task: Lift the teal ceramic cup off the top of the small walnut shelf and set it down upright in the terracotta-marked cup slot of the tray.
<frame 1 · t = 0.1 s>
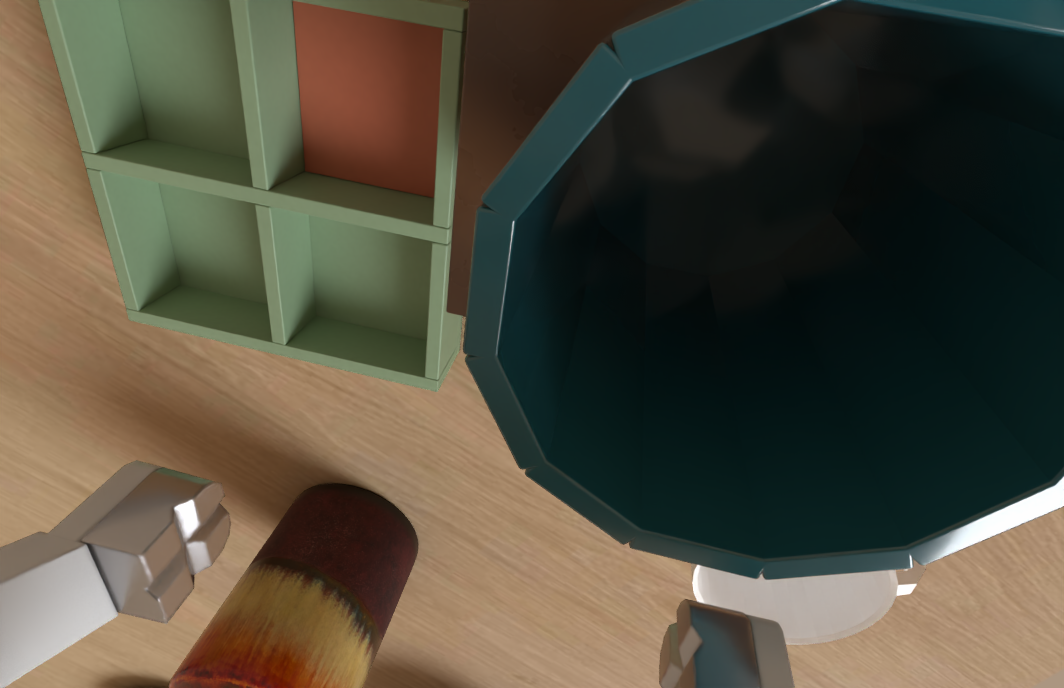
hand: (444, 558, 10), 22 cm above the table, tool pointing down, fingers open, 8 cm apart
shelf: (683, 72, 25), on the table
cup: (712, 146, 13), point 14 cm above the table, touching shelf
mug: (781, 460, 35), on the table
tray: (307, 173, 30), on the table
vase: (356, 528, 46), on the table
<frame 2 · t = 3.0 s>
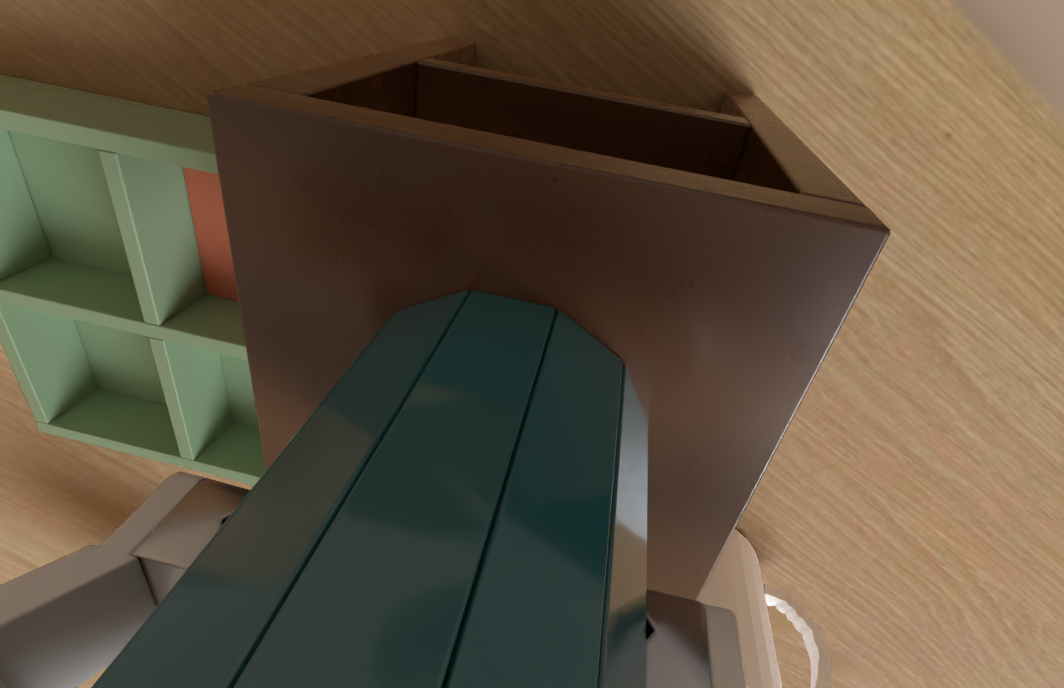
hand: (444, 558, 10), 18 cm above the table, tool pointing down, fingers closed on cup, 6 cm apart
shelf: (569, 217, 25), on the table
cup: (495, 423, 13), point 14 cm above the table, touching gripper, shelf
mug: (702, 564, 35), on the table
tray: (212, 291, 30), on the table
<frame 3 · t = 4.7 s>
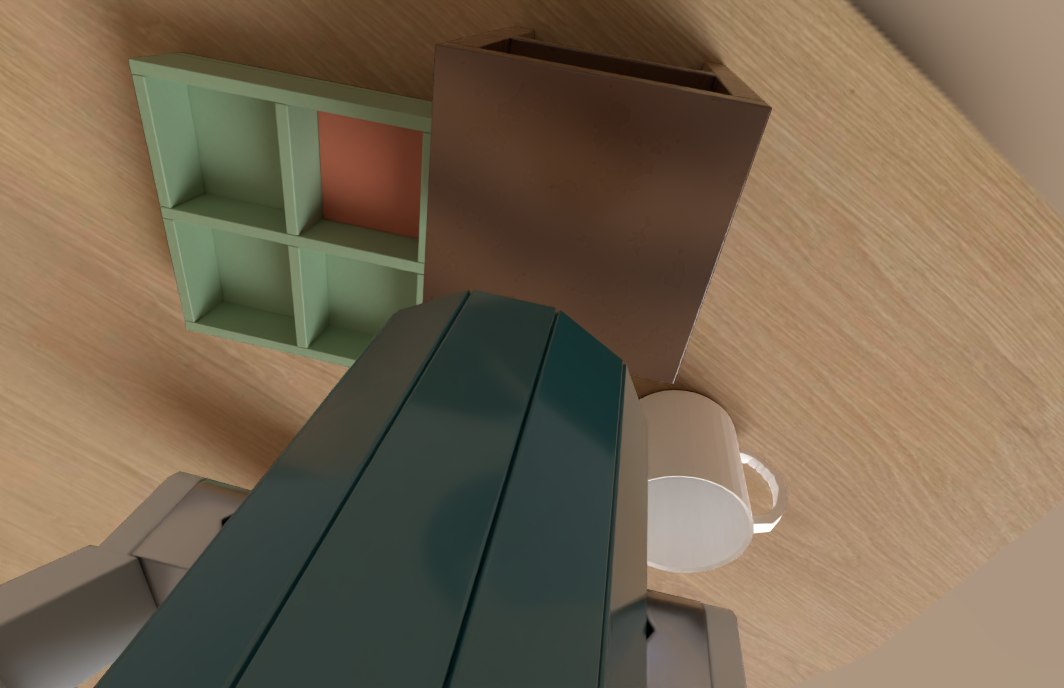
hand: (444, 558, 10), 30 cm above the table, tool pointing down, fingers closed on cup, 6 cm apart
shelf: (596, 154, 35), on the table
cup: (496, 423, 13), point 26 cm above the table, touching gripper
mug: (692, 438, 45), on the table
tray: (324, 218, 40), on the table
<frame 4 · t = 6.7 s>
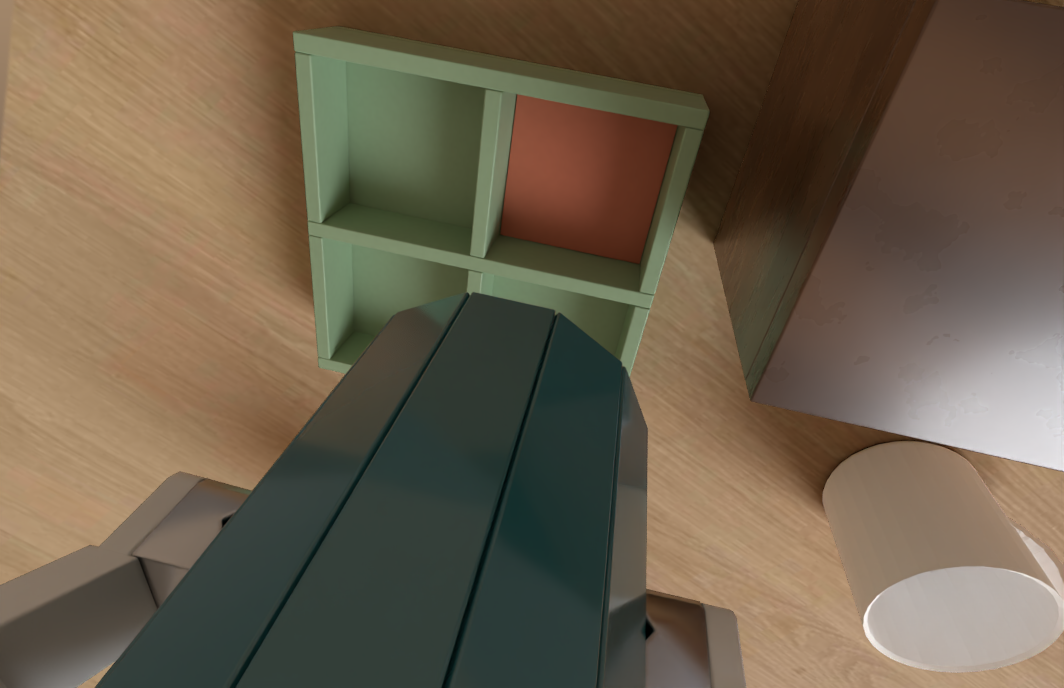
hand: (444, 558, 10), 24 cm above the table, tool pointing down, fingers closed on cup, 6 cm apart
shelf: (878, 155, 27), on the table
cup: (495, 425, 13), point 21 cm above the table, touching gripper
mug: (916, 495, 37), on the table
tray: (495, 234, 33), on the table
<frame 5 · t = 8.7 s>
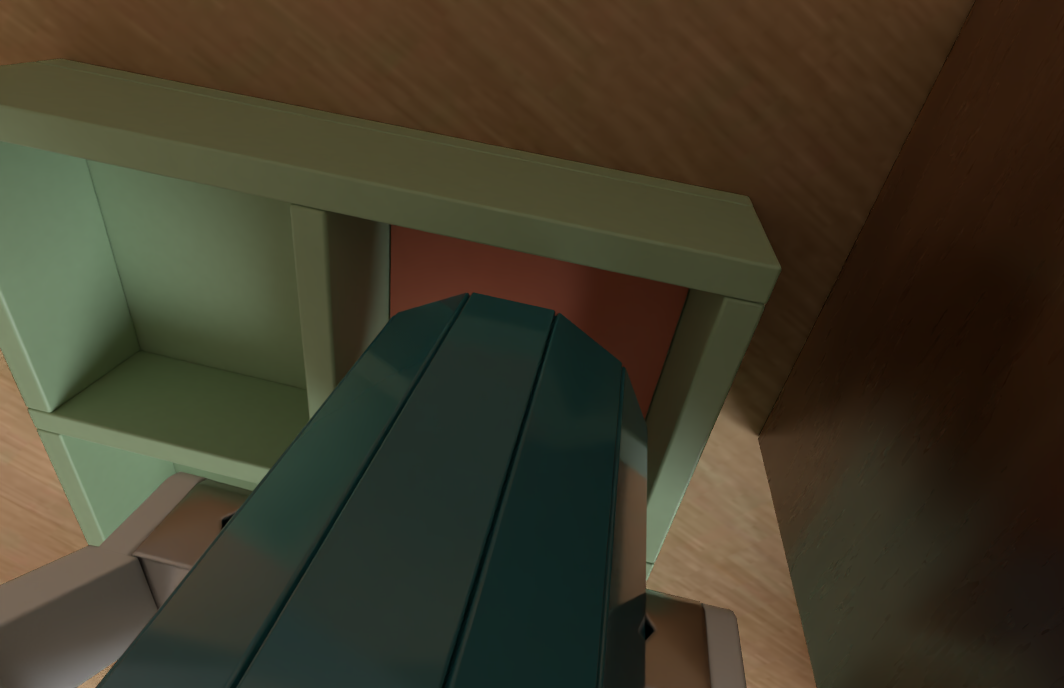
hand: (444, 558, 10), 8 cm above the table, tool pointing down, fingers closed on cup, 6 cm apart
cup: (495, 425, 13), point 5 cm above the table, touching gripper
tray: (387, 400, 19), on the table
when the fingers open (5 cm above the table, at t = 10.4 s): cup stays where it is, resting on tray.
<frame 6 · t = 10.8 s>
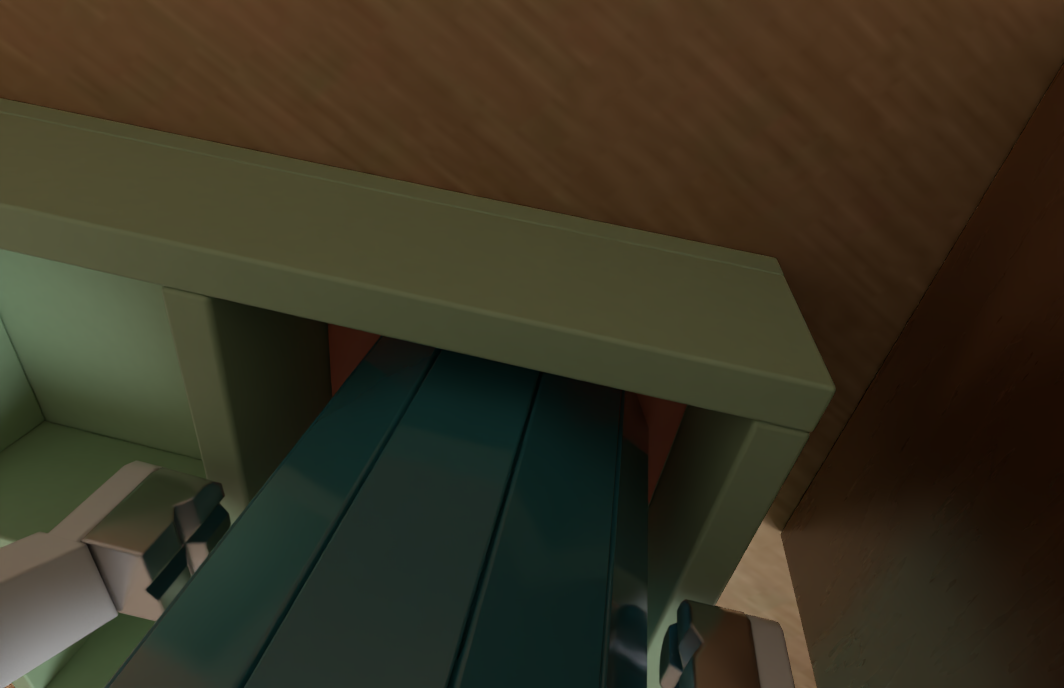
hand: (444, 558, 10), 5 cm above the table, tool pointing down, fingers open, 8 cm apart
cup: (497, 425, 13), point 1 cm above the table, touching tray
tray: (339, 478, 16), on the table
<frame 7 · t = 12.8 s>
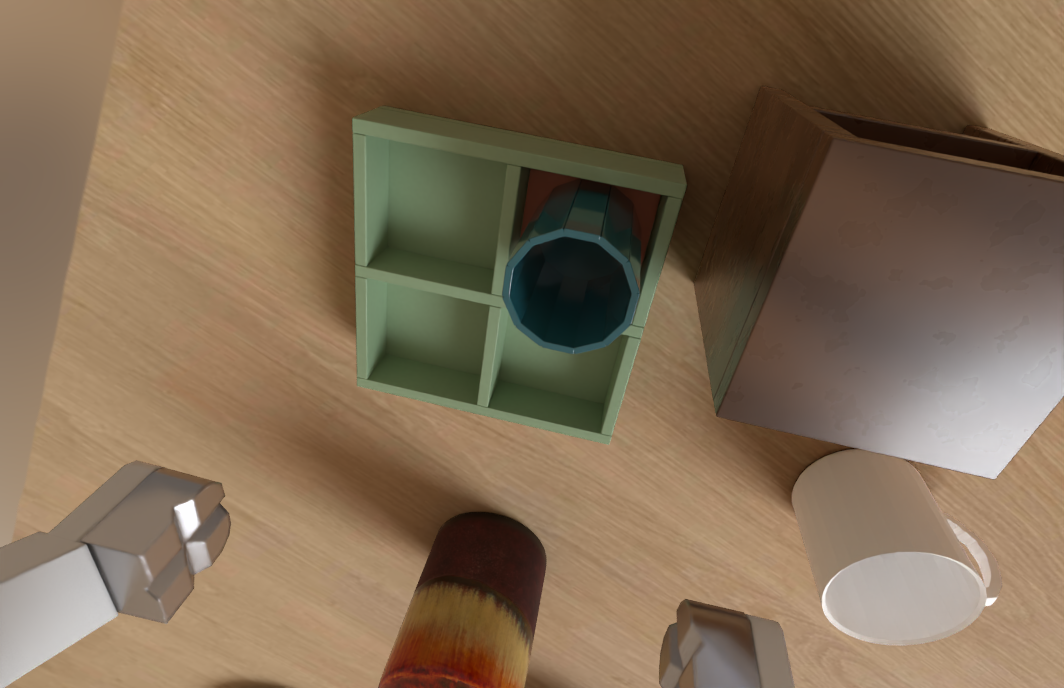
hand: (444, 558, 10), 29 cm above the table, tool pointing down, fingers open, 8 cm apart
shelf: (825, 214, 33), on the table
cup: (585, 232, 35), point 1 cm above the table, touching tray
mug: (872, 496, 43), on the table
tray: (510, 273, 39), on the table
vase: (491, 549, 54), on the table
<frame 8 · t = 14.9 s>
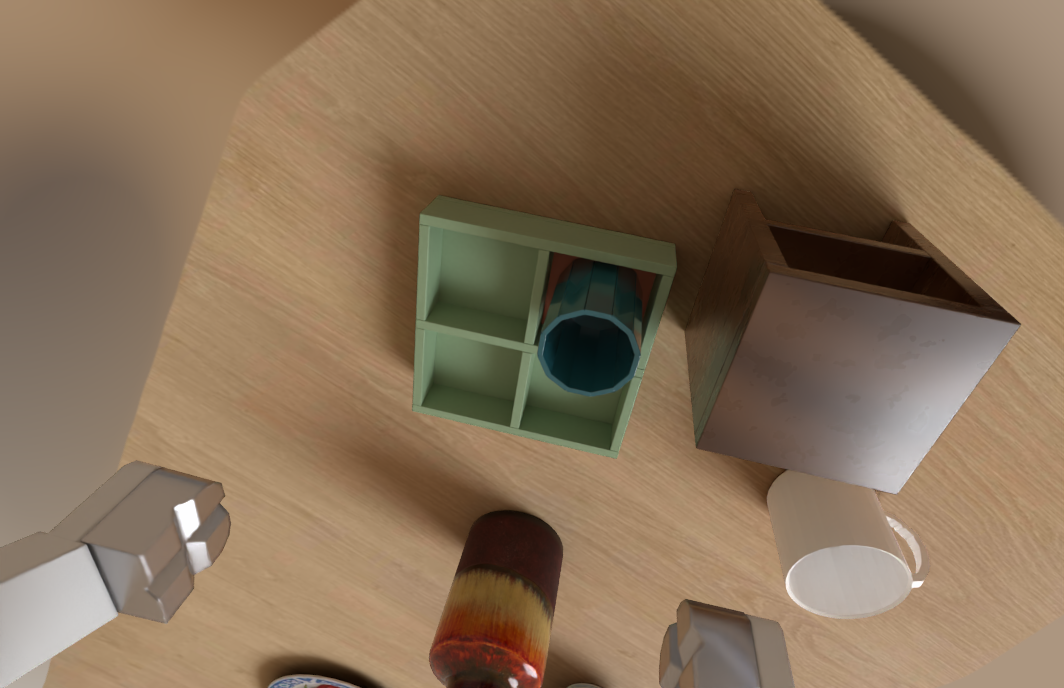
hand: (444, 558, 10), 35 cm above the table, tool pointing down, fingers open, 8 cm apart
shelf: (787, 282, 42), on the table
cup: (598, 293, 44), point 1 cm above the table, touching tray
mug: (832, 498, 53), on the table
tray: (537, 321, 48), on the table
vase: (516, 542, 64), on the table
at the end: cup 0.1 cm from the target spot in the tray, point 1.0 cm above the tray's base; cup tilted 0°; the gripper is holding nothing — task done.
